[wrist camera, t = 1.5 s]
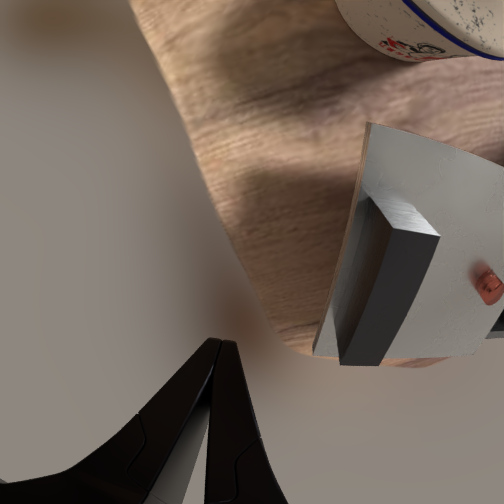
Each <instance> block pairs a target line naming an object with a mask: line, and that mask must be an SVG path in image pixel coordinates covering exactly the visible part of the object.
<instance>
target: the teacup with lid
mask: <svg viewBox="0 0 504 504" xmlns="http://www.w3.org/2000/svg"><path fill="white" fill-rule="evenodd" d="M335 1H336V4H337V7H338V9H339V11H340V13H341V15H342V17H343V18H344V20H345V21H346V23H347V24H348V25H349V27H350V28H351V29H352V30H353V31H354V32H355V33H356V34H357V35H358V36H359V37H360V38H361V39H362V40H363V41H365V42H366V43H367V44H369V45H370V46H372V47H373V48H375V49H376V50H378V51H380V52H382V53H384V54H386V55H388V56H390V57H393V58H396V59H399V60H403V61H410V62H424V61H431V60H439V59H447V58H457V57H469V56H481V57H483V58H487V59H491V60H499V61H502V60H504V0H335Z"/></svg>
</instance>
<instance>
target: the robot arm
mask: <svg viewBox="0 0 504 504" xmlns="http://www.w3.org/2000/svg"><path fill="white" fill-rule="evenodd" d="M138 413H139V414H136V415H135V416H134V417H133V418H132V419H131V420H130V421H129V422H128V423H127V424H126V425H125V426H124V427H123V428H122V429H121V430H120V431H119V432H117V433H116V434H115V435H114V436H113V437H112V438H110V439H109V440H108V441H107V442H106V443H104V444H103V445H101V446H100V447H99V448H97V449H96V450H95V451H93V452H92V453H91V454H90V455H88V456H87V457H86V458H84V459H83V460H81V461H80V462H79V463H77V464H76V465H74V466H73V467H71V468H69V469H67V470H65V471H63V472H60V473H57V474H53V475H48V476H44V477H39V478H34V479H29V480H24V481H18V482H12V483H7V482H5V481H3V480H2V479H0V504H182V502H183V499H184V496H185V493H186V490H187V487H188V484H189V481H190V478H191V475H192V472H193V469H194V466H195V463H196V459H197V456H198V453H199V450H200V447H201V444H202V441H203V438H204V435H205V432H206V429H207V425H208V422H209V429H208V443H207V459H206V476H205V495H204V504H288V502H287V500H286V498H285V496H284V494H283V492H282V490H281V488H280V486H279V484H278V482H277V480H276V478H275V475H274V473H273V471H272V469H271V466H270V463H269V461H268V457H267V455H266V452H265V449H264V445H263V441H262V438H260V437H261V435H260V431H259V427H258V424H257V420H256V417H255V413H254V409H253V406H252V402H251V398H250V394H249V391H248V387H247V383H246V379H245V376H244V371H243V368H242V363H241V359H240V355H239V351H238V348H237V343H236V342H235V341H231V340H223V341H222V340H221V339H217V338H208V339H207V340H206V341H205V342H204V343H203V344H202V345H201V346H200V347H199V348H198V349H197V350H196V352H195V353H194V354H193V355H192V356H191V357H190V358H189V359H188V360H187V361H186V362H185V364H183V366H182V367H181V368H180V369H179V370H178V371H177V372H176V373H175V374H174V375H173V376H172V377H171V378H170V379H169V380H168V382H167V383H166V384H165V385H164V386H163V387H162V388H161V389H160V390H159V391H158V392H157V393H156V394H155V395H154V396H153V397H152V398H151V399H150V400H149V402H147V404H146V405H145V406H144V407H143V408H142V409H141V410H140V411H139V412H138Z"/></svg>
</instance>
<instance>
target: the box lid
mask: <svg viewBox="0 0 504 504" xmlns="http://www.w3.org/2000/svg"><path fill="white" fill-rule="evenodd" d="M503 309H504V167H503V166H501V165H498V164H496V163H494V162H492V161H489V160H487V159H485V158H482V157H480V156H477V155H475V154H472V153H470V152H467V151H465V150H462V149H459V148H457V147H454V146H451V145H448V144H445V143H442V142H439V141H436V140H433V139H430V138H427V137H424V136H420V135H417V134H414V133H410V132H407V131H403V130H399V129H396V128H392V127H388V126H384V125H380V124H376V123H371V122H367V121H366V128H365V134H364V140H363V146H362V152H361V158H360V163H359V169H358V174H357V179H356V184H355V189H354V194H353V198H352V203H351V208H350V212H349V217H348V221H347V225H346V229H345V234H344V238H343V242H342V246H341V250H340V254H339V257H338V261H337V265H336V269H335V272H334V276H333V280H332V283H331V287H330V290H329V294H328V297H327V300H326V304H325V307H324V310H323V314H322V317H321V320H320V323H319V326H318V330H317V333H316V336H315V339H314V342H313V345H312V351H313V356H329V357H339V362H340V365H348V366H379V364H380V363H381V361H382V359H383V358H431V357H450V356H465V355H473V354H474V353H475V351H476V350H477V349H478V347H479V346H480V345H481V343H482V342H483V340H484V339H485V337H486V336H487V334H488V333H489V331H490V330H491V328H492V327H493V325H494V324H495V322H496V321H497V319H498V317H499V316H500V314H501V312H502V311H503Z"/></svg>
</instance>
